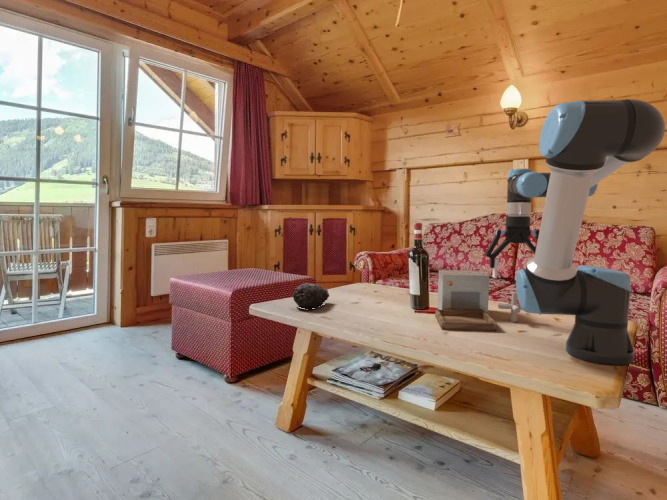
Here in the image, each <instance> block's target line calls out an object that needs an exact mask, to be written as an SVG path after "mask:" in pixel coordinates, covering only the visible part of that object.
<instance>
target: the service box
mask: <svg viewBox="0 0 667 500" xmlns="http://www.w3.org/2000/svg"><path fill="white" fill-rule="evenodd" d="M437 280H438V281H437V284H438V285H437V286H438V287H437V289H438V290H437V309H441V310H474V311H485V312H486V313H487V314H488V315H489V295H490V294H489V293H490V292H489V290H490V275H489V274H487V273H486V272H484V271H482V270H464V269H463V270H459V269H458V270H457V269H453V270H452V269H438V279H437Z"/></svg>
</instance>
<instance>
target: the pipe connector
mask: <svg viewBox="0 0 667 500" xmlns="http://www.w3.org/2000/svg"><path fill="white" fill-rule="evenodd" d="M497 305H498V307H497V308H498V309H500V310H501V309H502V310H510V322H512V323H517V319H518V318H517V316H518V315H517V314H520V312H521V311H524V310H523V309H522V308H521V306H520V303H518V296H517V291H516V292H515V291H511V301H509V302H508V303H500V302H499V303H498V304H497Z"/></svg>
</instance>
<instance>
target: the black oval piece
mask: <svg viewBox="0 0 667 500" xmlns="http://www.w3.org/2000/svg"><path fill="white" fill-rule="evenodd" d="M329 297H330V294H329V290H328V289H327V288H324V286H323V287H322V286H321V285H320V284H317V283H310V282H306V283H302V284H300V285H298V286H297V287H295V288H294V290H293V294H292V298H293V301H294V302H295V304H296V305H297V307H301V308H305V309H312V308H317V307H319V306H321V305H322V304H323V303H326V301H327V300H328V298H329ZM317 309H318V308H317Z"/></svg>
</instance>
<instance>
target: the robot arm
mask: <svg viewBox="0 0 667 500" xmlns="http://www.w3.org/2000/svg"><path fill="white" fill-rule="evenodd" d="M540 131H541V132H540V136H539V146H538V148H539V149H538V150H539V153H540V155H541V156H542V157H543V158H545V165H546V166H547V167H548V168H549V169H550V172H539V171H538V172H537V171H533V169H531V168H512V169H510V170H509V171H508V175H507V179H506V182H507V186H506V188H507V189H506V190H507V192H506V215H507V216H506V217H505V229H504V230H500V229H495V233H494V237H493V238H492V240H491V242H490V244H489V246H488V247H487V249H486V250H485V253H484V256H485V257H487V258H489V267H490V269H492V276H491V277H492V278H494V279H497V278H498V258H497V257H498V256H499V255H500V254H501V252H502V251H503V250H504V249H505V248H506V247H507V246H508V245H510V244H523V243H524V244H525V245H526V247H528V249H529V250H530V251H531V252H532V254H533V255H534V257H531V258H529V260H527V261H526V266H525V269H523V268H521V269H518V270H517V272H516V274H515V287H516V292H517V296H518V298H517V301H518V304H520V306H521V308H522V309H523V310H522V311H523V312H524V313H525V312H526V313H527V314H538V315H540V316H541V315H561V316H562V315H563V316H564V315H566V316H574V317H575V318H574V324H573V326H572V329H571V330H570V333H569V335H568V337H567V338H566V339H567V340H566V343H565V352H566V353H568V354H569V355H570V356H572V357H575V358H577V359H580V360H583V361H587V362H591V363H595V364H600V365H601V364H603V365H610V364H611V365H614V366H624V365H631V364H633V363H634V362H635V361H634V360H635V351H634V346H633V344H632V340H631V337H630V334H629V330H628V326H629V324H628V323H629V315H630V314H629V313H630V302H631V301H630V300H631V292H632V290H631V289H632V288H631V287H632V285H631V283H632V282H631V277H630V275H629V274H628V273H626V272H624V271H620V270H617V269H613V268H605V267H600V266H594V265H585V264H584V265H583V264H580V265H578V266H577V268H576V267H575V266H574V264H573V261H574V256H575V252H576V248H577V244H578V241H579V235H580V231H581V227H582V224H583V219H584V215H585V211H586V207H587V202H588V199H589V197H592V196H594V194H595V192H596V191H597V188H598V186H599V185H598V183H600V182H602V181H603V180H604V179H607V178H608V177H609V176H610V175H612V174H614V173H615V172H617V171H618V170H619V169H621V168H623V167H624V166H625V165H627V164H628V163H637V162H639V161H641V160H643V159H644V158H646V157H647V156H649V155H650V154H652V152H654V151H656V150H657V148H658V147H659V145H660V144H661V142H662V141H663V139H664V136H665V131H666V123H665V119H664V117H663V114H662V113H661V112H660V111H659V110H658V108H657V107H656V106H654V105H652V104H651V103H649V102H647V101H645V100H642V99H633V98H631V99H630V98H629V99H628V98H626V99H607V100H576V101H568V102H561V103H558V104H556V105H555V106H554V107H552V109H551V110H550V111H549V112H548V114H547V116H546V118H545V120H544V122H543V125H542V128H541V130H540ZM534 198H545V201H544V205H543V210H542V217H541V220H540V226H539V227H540V228H539V229H534V230H531V217H530V215H532V214H531V213H532V199H534ZM503 235H504V236H505V238H504V239H503V241H502V242H501V243H500V244H499V245H498V246H497V244H498V242H499V241H500V239H501V237H503ZM531 235H532V237H533V238H534V240H535V242H536V246H535V245H534V244H533V243H532V241H531V239H529V237H530V236H531ZM496 246H497V248H496V249H495V247H496ZM494 249H495V250H494ZM611 365H610V366H611Z"/></svg>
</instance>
